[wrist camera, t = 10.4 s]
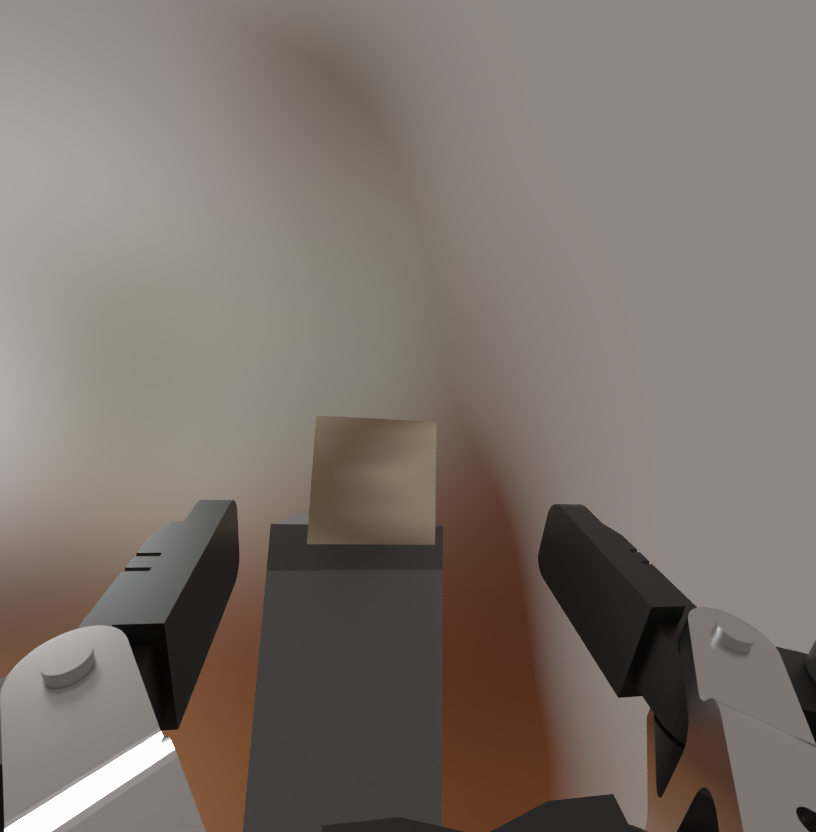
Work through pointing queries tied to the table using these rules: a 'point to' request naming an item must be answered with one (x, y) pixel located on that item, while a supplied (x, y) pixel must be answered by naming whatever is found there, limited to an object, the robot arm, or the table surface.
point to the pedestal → (347, 684)
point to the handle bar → (373, 482)
